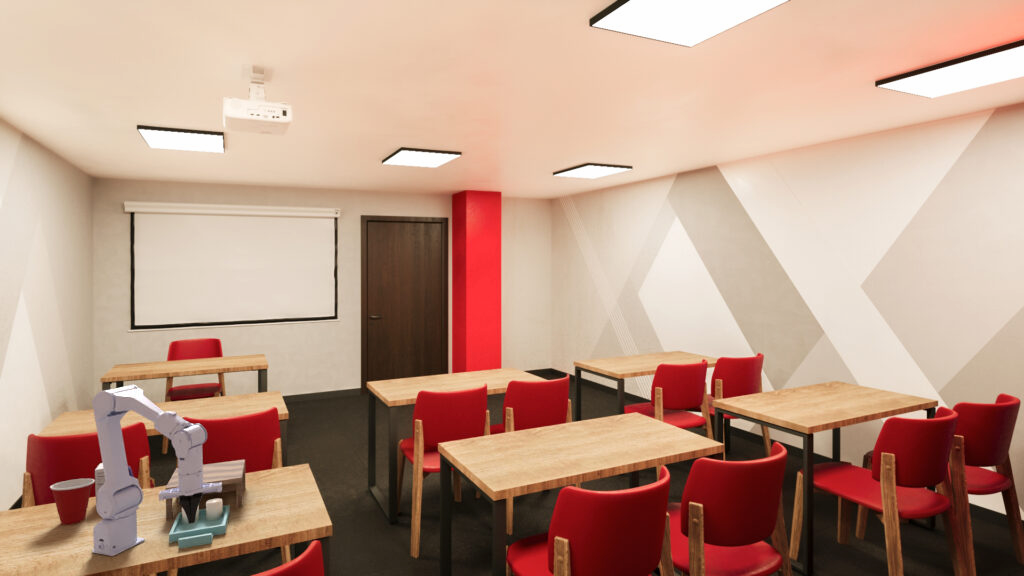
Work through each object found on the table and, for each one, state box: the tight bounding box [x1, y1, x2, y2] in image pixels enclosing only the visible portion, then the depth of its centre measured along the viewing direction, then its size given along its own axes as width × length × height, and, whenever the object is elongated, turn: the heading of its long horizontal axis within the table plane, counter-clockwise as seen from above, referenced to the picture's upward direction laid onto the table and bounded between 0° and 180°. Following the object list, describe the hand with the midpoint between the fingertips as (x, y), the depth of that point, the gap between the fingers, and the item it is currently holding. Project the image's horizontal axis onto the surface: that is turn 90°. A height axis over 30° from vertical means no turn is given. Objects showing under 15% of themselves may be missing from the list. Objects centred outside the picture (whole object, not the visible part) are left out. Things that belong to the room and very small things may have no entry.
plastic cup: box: [49, 478, 95, 526], centre depth 170 cm, size 11×11×12 cm
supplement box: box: [94, 462, 106, 506], centre depth 184 cm, size 7×7×13 cm
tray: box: [168, 497, 231, 549], centre depth 162 cm, size 21×14×6 cm, turn 23°
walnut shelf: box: [165, 459, 247, 521], centre depth 182 cm, size 20×21×10 cm
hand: (192, 521), depth 148 cm, fingers closed
